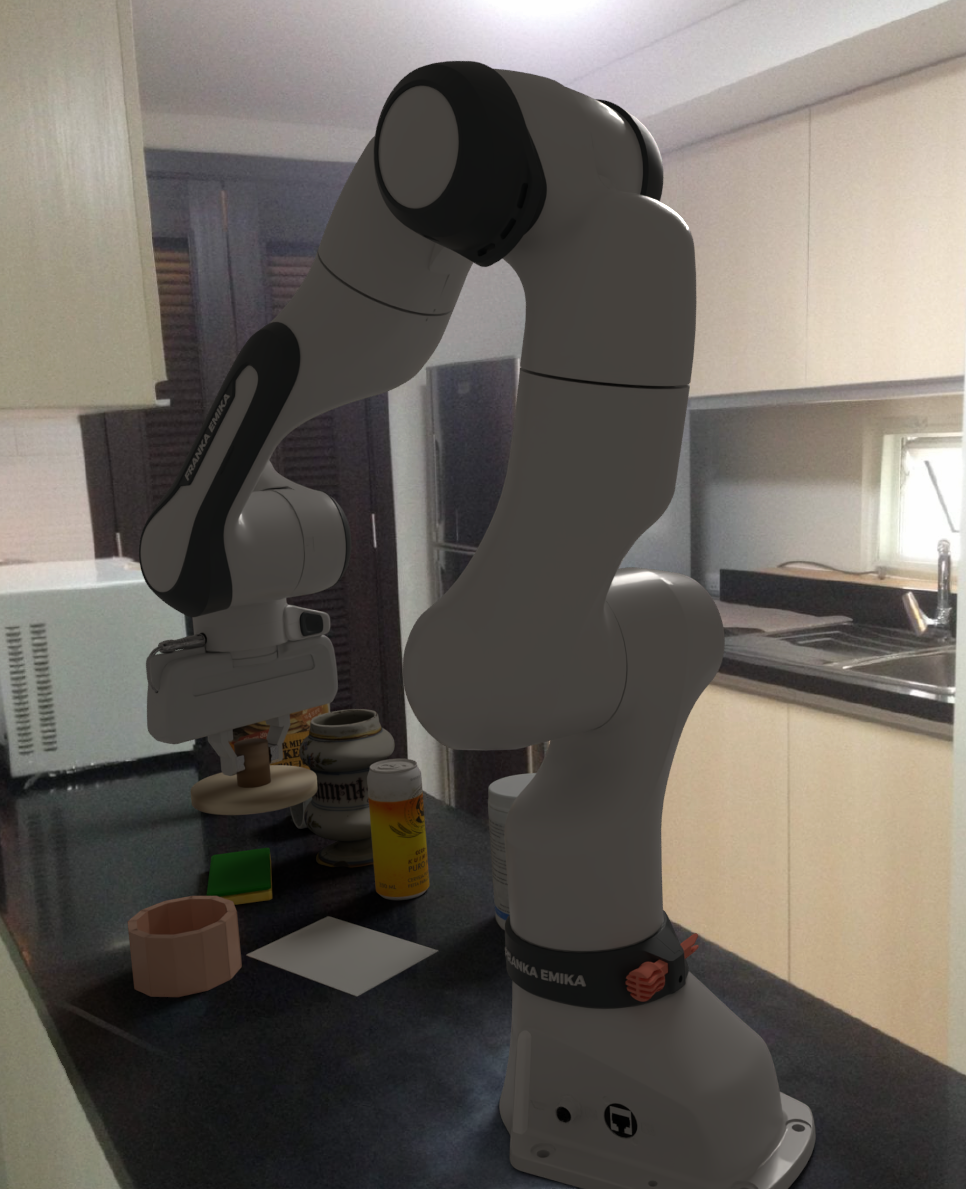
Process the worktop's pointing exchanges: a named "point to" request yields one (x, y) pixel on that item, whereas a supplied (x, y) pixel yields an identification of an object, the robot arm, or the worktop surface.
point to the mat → (342, 955)
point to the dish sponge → (241, 876)
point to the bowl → (184, 946)
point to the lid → (254, 785)
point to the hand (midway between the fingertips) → (253, 767)
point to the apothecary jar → (343, 782)
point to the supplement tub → (502, 836)
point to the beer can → (398, 829)
